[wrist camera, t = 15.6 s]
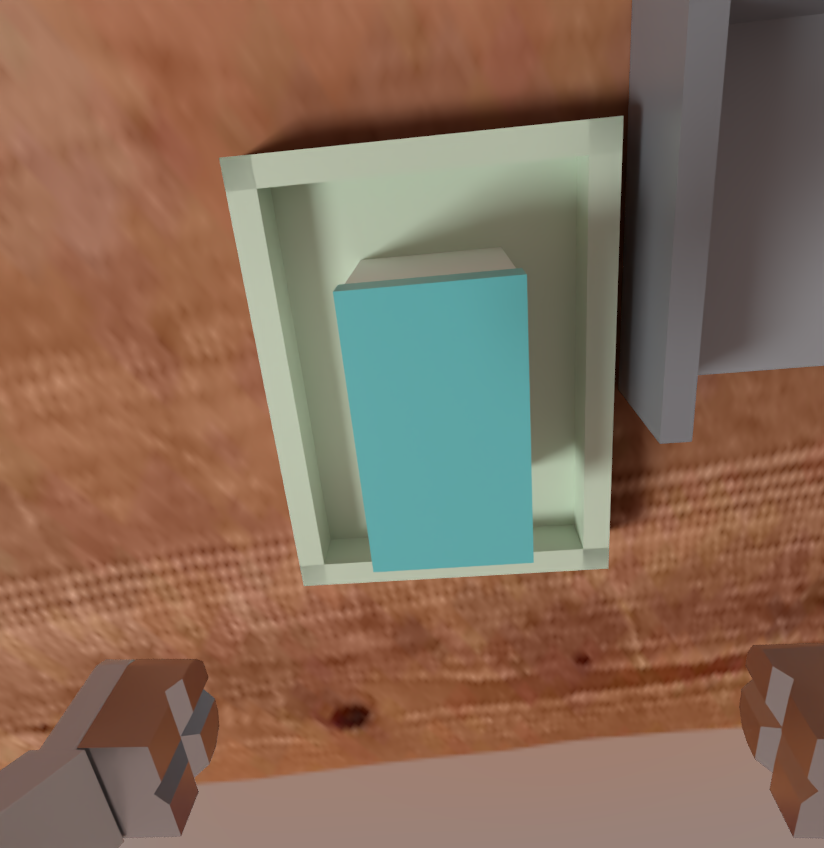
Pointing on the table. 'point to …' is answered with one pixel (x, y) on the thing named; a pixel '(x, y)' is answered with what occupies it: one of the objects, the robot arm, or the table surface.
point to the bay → (721, 199)
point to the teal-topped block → (440, 407)
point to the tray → (423, 234)
